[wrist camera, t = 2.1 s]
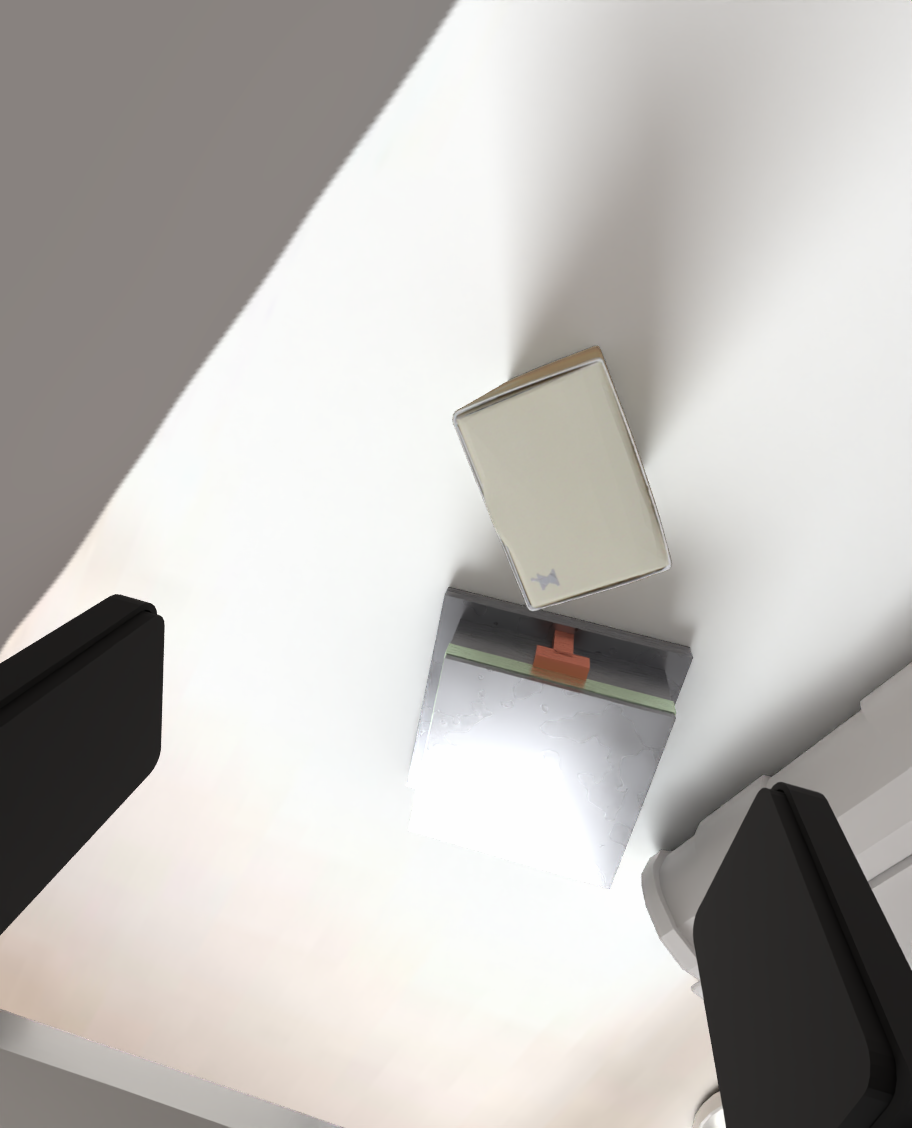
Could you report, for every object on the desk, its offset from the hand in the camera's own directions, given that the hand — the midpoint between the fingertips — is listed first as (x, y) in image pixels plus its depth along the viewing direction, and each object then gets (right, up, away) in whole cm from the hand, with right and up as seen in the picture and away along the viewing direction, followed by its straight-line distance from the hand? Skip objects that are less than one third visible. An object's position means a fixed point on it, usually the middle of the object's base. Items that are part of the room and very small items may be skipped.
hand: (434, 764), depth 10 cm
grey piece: (+5, -5, +24) cm, 25 cm away
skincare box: (+5, +9, +19) cm, 22 cm away
